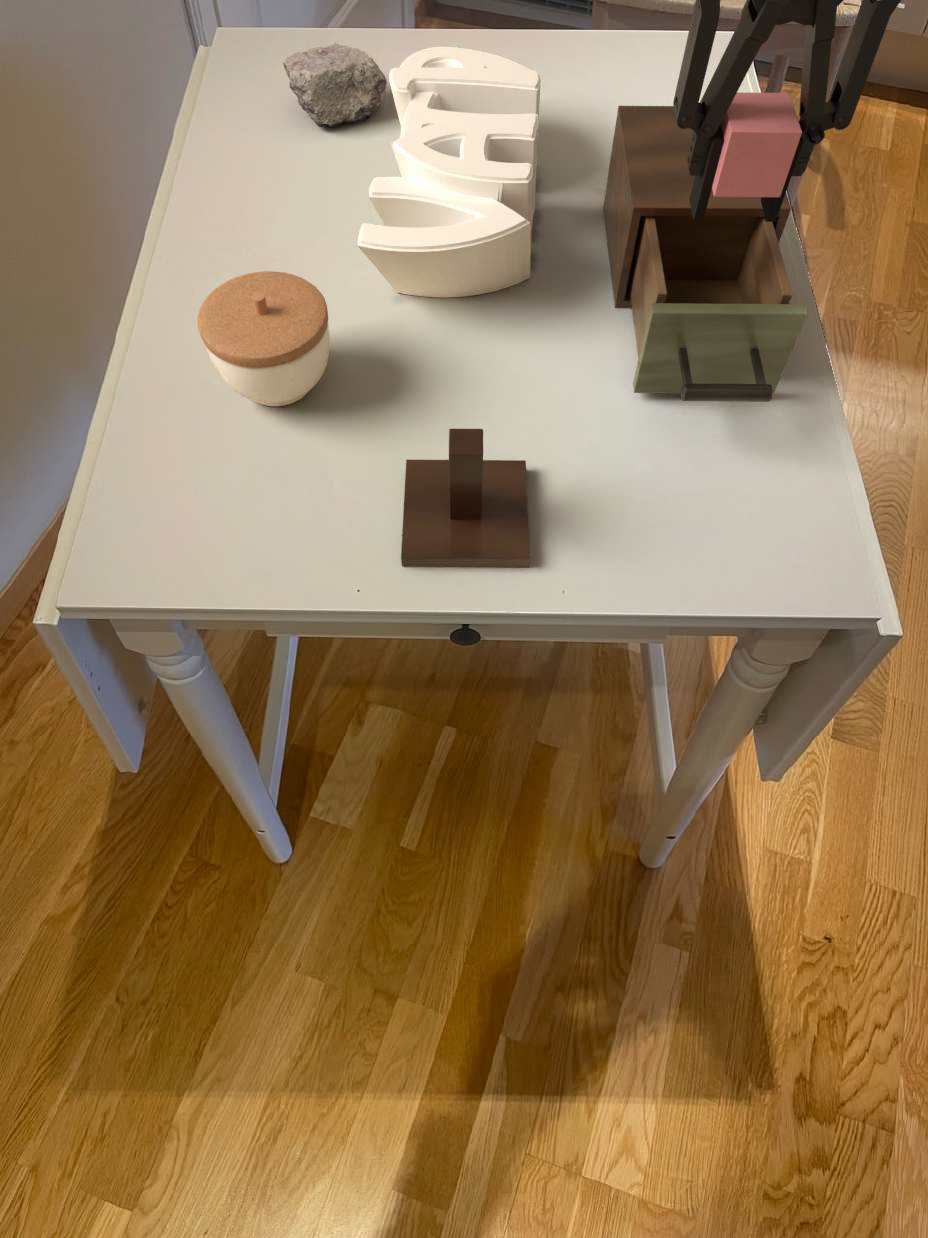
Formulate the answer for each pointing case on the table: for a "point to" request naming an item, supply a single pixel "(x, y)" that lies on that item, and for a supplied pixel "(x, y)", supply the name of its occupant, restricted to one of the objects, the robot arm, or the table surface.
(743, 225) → the drawer
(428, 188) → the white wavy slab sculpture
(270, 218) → the table surface
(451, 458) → the stand
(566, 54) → the table surface
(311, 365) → the trinket box
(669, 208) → the cabinet
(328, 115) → the rock
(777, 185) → the block
